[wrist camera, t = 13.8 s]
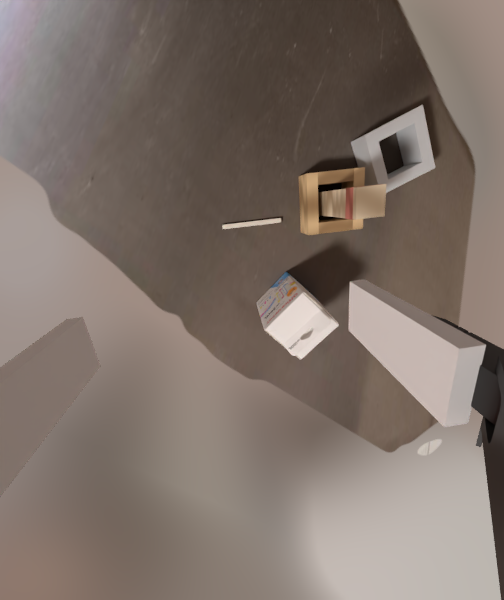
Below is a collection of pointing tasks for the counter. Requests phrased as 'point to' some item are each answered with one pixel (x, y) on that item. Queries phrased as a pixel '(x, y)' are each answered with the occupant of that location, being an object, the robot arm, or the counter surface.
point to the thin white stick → (251, 223)
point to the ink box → (294, 316)
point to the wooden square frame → (310, 200)
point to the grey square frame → (411, 146)
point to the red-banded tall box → (353, 202)
